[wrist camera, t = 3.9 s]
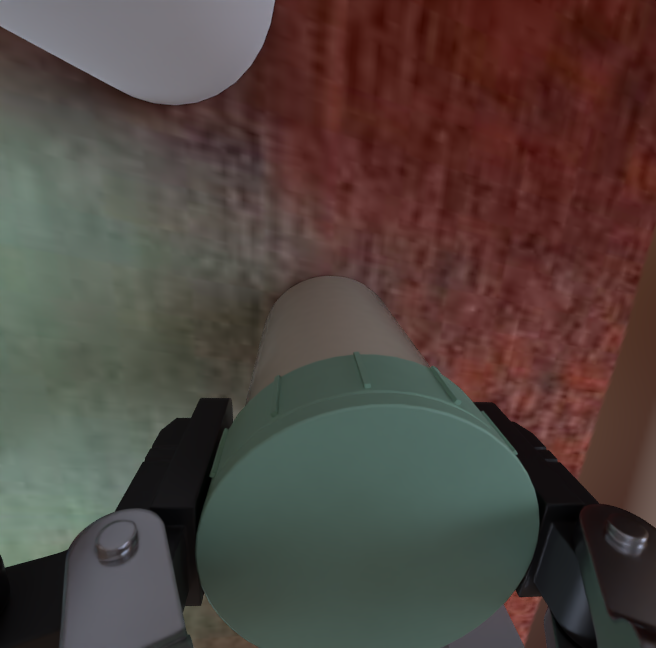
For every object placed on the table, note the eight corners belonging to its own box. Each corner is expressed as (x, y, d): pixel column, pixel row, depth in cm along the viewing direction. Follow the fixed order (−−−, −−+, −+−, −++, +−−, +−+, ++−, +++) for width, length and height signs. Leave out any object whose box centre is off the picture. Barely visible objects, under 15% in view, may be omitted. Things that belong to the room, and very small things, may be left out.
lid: (241, 326, 7) (222, 372, 5) (531, 382, 8) (599, 438, 6) (200, 563, 9) (175, 657, 7) (439, 588, 10) (471, 678, 8)
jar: (276, 262, 15) (243, 376, 6) (408, 290, 16) (558, 431, 7) (253, 384, 17) (198, 620, 8) (373, 405, 17) (454, 642, 8)
